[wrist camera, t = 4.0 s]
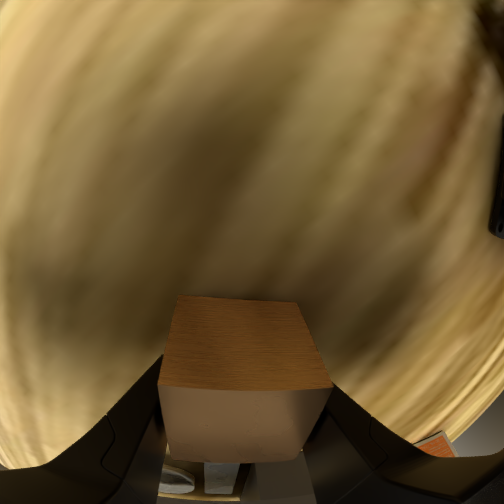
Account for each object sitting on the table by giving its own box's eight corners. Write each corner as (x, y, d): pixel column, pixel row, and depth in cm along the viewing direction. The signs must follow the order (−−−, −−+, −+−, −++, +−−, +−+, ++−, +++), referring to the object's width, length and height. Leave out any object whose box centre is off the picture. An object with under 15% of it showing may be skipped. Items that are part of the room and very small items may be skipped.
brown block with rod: (296, 302, 9) (333, 386, 6) (244, 483, 15) (249, 525, 12) (178, 294, 9) (157, 384, 5) (191, 481, 15) (191, 524, 11)
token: (193, 463, 15) (192, 477, 14) (195, 484, 17) (195, 495, 15) (125, 454, 14) (122, 467, 13) (138, 477, 16) (137, 488, 15)
